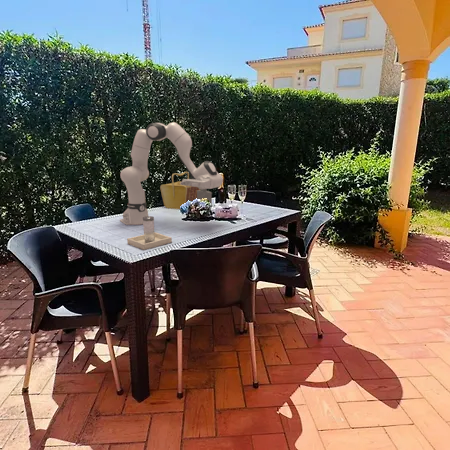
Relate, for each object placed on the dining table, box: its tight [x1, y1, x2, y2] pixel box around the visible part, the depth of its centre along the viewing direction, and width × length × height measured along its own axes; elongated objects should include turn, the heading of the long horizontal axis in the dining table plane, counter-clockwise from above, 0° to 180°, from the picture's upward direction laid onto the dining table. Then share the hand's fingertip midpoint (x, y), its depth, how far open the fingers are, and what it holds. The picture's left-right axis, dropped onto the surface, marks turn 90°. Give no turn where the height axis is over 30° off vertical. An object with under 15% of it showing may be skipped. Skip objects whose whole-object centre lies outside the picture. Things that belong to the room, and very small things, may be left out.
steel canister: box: [142, 215, 155, 243], centre depth 169 cm, size 6×6×14 cm
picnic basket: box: [159, 171, 201, 210], centre depth 273 cm, size 29×26×30 cm
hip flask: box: [197, 189, 213, 205], centre depth 247 cm, size 16×4×20 cm, turn 45°
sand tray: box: [127, 231, 173, 251], centre depth 171 cm, size 16×18×3 cm
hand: (186, 184), depth 186 cm, fingers open, 8 cm apart
